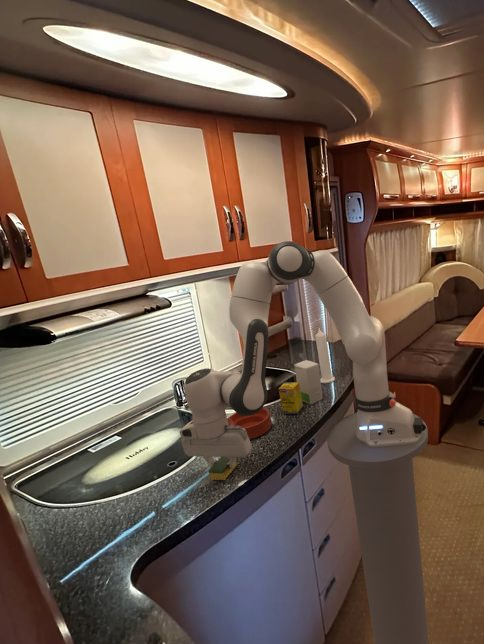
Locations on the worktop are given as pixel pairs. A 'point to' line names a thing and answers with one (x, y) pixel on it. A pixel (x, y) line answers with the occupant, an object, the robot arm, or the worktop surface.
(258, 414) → the bowl
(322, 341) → the candle
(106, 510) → the worktop surface
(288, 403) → the supplement box
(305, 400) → the cosmetic box
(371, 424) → the robot arm
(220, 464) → the sponge
